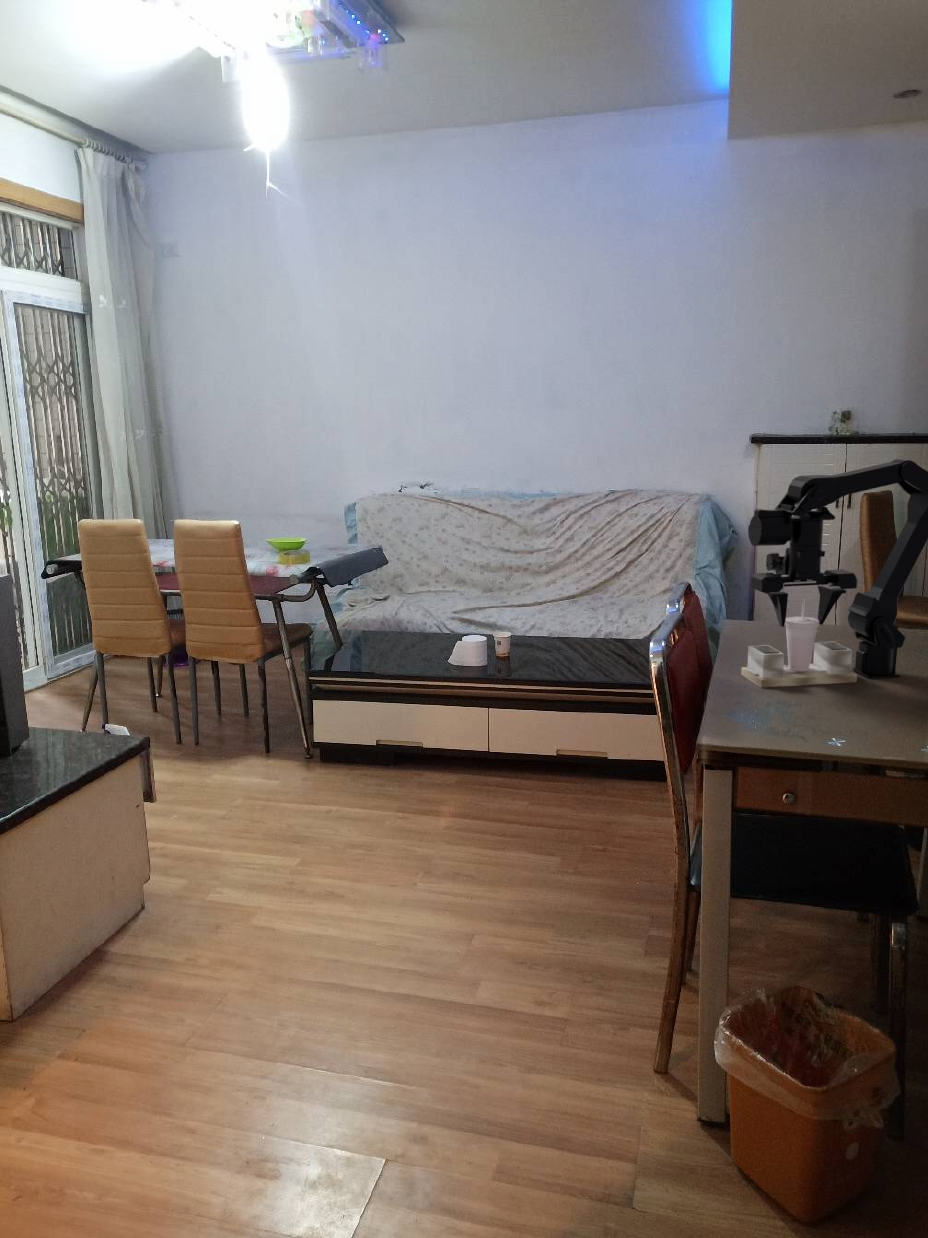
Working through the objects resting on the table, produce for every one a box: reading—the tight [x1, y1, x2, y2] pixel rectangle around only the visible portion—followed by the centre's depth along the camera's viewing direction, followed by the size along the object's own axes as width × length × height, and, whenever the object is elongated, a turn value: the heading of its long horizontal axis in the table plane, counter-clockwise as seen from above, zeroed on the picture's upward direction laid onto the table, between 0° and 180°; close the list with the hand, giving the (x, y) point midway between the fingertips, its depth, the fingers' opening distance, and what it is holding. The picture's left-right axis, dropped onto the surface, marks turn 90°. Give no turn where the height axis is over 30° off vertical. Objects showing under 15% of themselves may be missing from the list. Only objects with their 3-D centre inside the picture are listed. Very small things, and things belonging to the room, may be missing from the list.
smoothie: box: [784, 596, 821, 671], centre depth 186 cm, size 6×6×14 cm
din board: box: [740, 641, 858, 689], centre depth 187 cm, size 19×9×6 cm, turn 97°
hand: (801, 625), depth 185 cm, fingers open, 7 cm apart
